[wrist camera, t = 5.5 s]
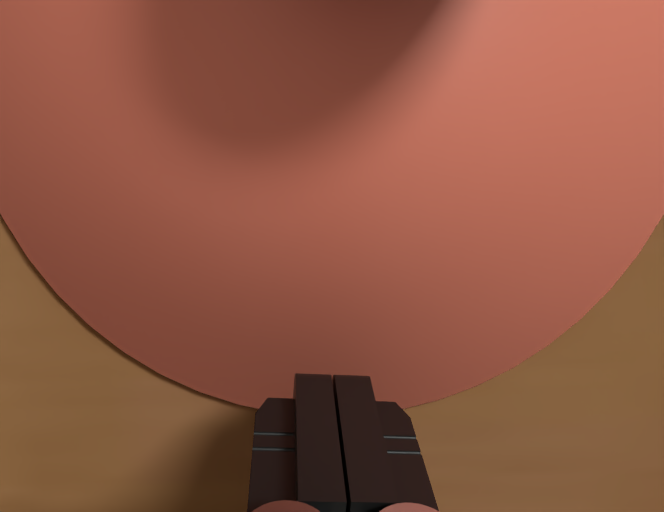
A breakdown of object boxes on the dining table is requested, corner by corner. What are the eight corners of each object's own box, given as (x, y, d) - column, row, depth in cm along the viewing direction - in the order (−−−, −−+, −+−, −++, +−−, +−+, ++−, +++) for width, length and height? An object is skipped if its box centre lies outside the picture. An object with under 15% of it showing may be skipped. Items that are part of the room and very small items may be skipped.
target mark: (817, -311, 10) (828, -317, 10) (608, 420, 15) (613, 425, 15) (-103, -449, 9) (-112, -459, 8) (0, 400, 14) (-3, 405, 13)
